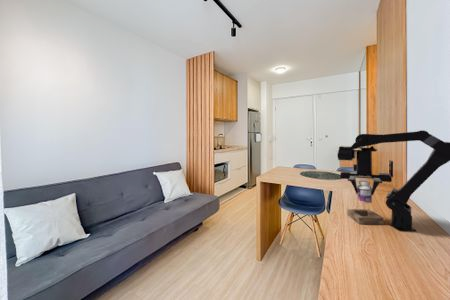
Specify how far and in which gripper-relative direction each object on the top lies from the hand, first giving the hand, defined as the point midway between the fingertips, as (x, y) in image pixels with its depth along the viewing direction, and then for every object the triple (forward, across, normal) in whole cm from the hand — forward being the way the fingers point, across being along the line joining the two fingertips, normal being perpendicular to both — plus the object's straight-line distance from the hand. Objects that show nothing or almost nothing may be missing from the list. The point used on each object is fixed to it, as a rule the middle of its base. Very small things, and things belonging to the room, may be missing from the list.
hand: (364, 194), depth 89 cm
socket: (+12, 0, 0) cm, 12 cm away
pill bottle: (+4, 0, 0) cm, 4 cm away
